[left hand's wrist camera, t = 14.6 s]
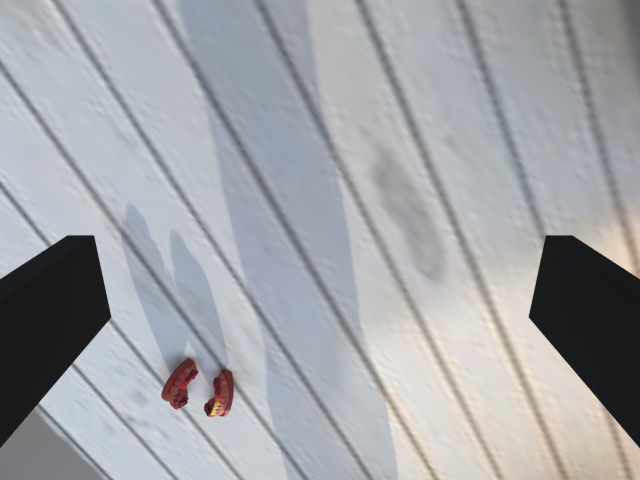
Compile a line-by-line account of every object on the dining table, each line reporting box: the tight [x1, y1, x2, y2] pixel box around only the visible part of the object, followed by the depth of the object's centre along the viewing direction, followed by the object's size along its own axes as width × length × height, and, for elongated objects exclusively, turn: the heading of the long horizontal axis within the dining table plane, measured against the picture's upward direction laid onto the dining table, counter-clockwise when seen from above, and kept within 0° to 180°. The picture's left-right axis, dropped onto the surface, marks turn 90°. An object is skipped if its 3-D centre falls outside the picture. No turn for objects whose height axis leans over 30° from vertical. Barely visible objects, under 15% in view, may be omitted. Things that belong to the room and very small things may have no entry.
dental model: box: [161, 358, 233, 417], centre depth 50 cm, size 6×4×8 cm
